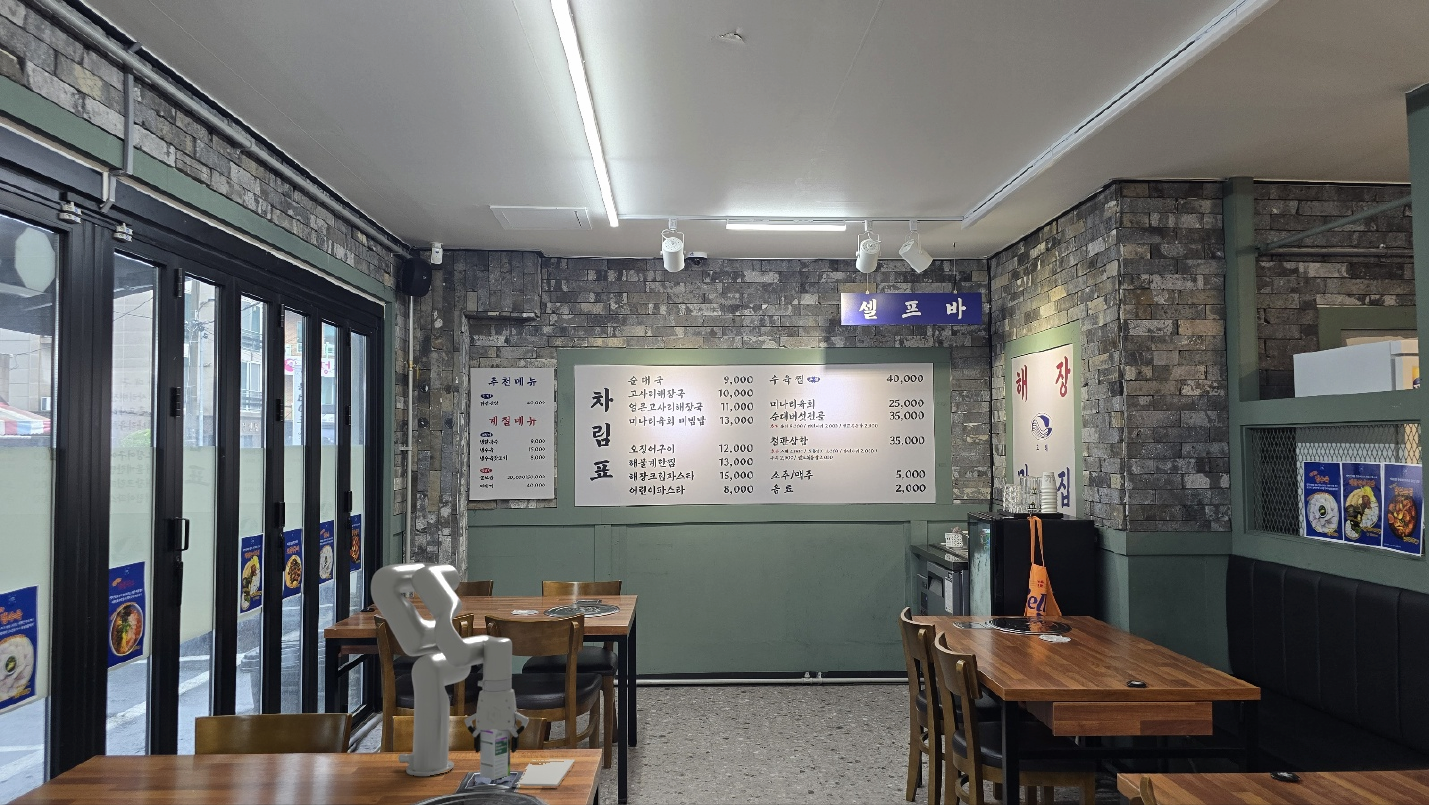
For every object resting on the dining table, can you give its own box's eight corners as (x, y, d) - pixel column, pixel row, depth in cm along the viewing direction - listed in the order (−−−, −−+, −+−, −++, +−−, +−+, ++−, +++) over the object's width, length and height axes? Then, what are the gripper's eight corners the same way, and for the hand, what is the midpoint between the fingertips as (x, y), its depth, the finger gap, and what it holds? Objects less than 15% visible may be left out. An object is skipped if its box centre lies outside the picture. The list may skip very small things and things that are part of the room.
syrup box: (493, 786, 231) (494, 729, 233) (478, 782, 235) (480, 726, 236) (510, 781, 236) (511, 725, 237) (496, 777, 239) (497, 721, 241)
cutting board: (511, 788, 230) (511, 783, 230) (533, 763, 252) (533, 758, 252) (557, 789, 229) (557, 784, 229) (575, 764, 251) (575, 759, 251)
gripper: (461, 688, 235) (459, 755, 233) (525, 688, 234) (524, 755, 232) (470, 682, 242) (469, 747, 240) (532, 682, 241) (532, 747, 239)
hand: (496, 751), depth 236 cm, fingers open, 9 cm apart
